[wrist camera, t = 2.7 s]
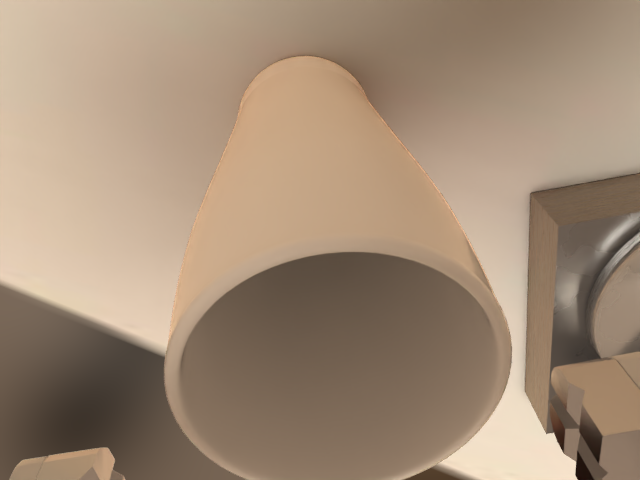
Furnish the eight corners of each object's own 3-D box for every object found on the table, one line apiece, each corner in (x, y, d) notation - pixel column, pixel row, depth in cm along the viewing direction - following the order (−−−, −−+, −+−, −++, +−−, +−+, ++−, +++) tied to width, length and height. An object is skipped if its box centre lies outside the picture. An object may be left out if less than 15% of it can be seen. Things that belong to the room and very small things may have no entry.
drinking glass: (275, -5, 21) (279, 159, 8) (418, 92, 23) (595, 337, 11) (191, 143, 24) (97, 437, 11) (327, 217, 26) (379, 531, 13)
